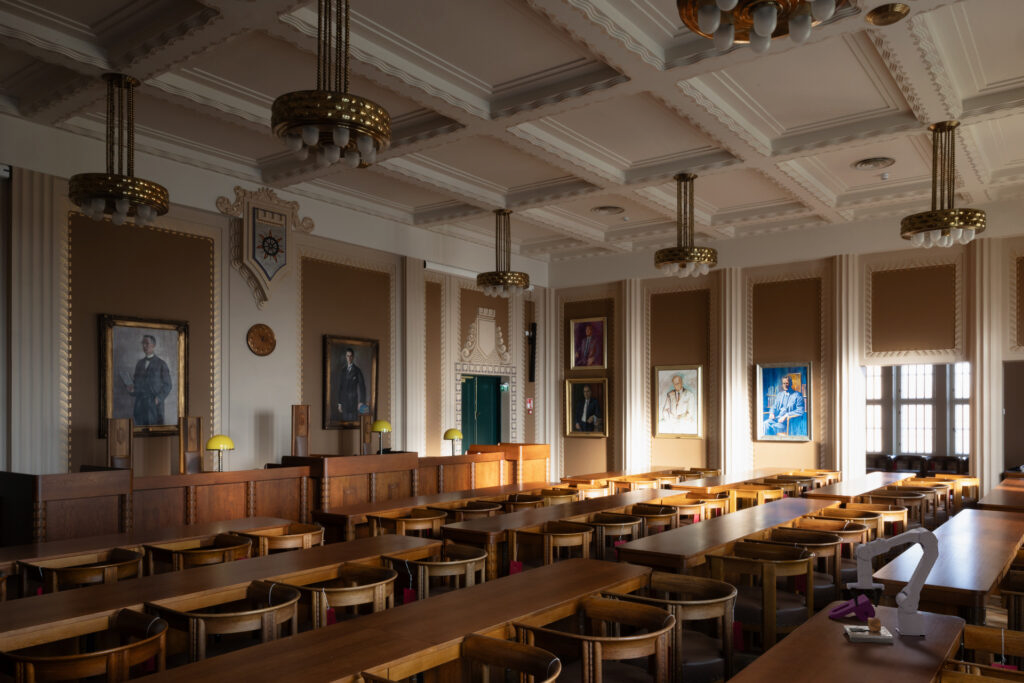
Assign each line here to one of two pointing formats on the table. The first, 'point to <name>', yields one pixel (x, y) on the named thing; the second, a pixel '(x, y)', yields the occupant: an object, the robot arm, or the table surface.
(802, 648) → the table surface
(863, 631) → the keyhole plate
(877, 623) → the keyhole peg
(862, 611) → the mounting bracket
